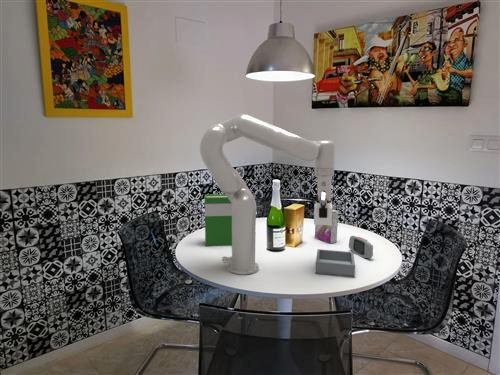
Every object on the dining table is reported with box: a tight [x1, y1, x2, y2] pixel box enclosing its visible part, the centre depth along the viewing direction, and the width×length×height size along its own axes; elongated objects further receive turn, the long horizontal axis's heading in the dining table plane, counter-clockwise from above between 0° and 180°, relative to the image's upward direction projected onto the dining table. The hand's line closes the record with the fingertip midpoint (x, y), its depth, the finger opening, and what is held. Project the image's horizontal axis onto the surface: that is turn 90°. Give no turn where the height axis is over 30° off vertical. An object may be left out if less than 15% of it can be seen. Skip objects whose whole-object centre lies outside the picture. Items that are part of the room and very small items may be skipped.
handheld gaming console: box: [348, 235, 374, 259], centre depth 166 cm, size 14×3×8 cm, turn 24°
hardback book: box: [204, 193, 232, 247], centre depth 179 cm, size 18×7×24 cm, turn 97°
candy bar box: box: [314, 209, 339, 245], centre depth 185 cm, size 11×5×16 cm, turn 34°
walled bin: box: [315, 248, 356, 279], centre depth 151 cm, size 15×15×5 cm
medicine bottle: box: [313, 193, 334, 225], centre depth 149 cm, size 7×7×12 cm
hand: (323, 214), depth 149 cm, fingers closed on medicine bottle, 7 cm apart
